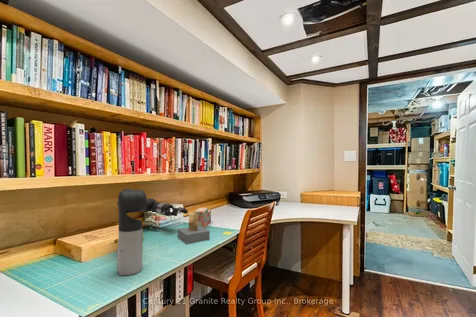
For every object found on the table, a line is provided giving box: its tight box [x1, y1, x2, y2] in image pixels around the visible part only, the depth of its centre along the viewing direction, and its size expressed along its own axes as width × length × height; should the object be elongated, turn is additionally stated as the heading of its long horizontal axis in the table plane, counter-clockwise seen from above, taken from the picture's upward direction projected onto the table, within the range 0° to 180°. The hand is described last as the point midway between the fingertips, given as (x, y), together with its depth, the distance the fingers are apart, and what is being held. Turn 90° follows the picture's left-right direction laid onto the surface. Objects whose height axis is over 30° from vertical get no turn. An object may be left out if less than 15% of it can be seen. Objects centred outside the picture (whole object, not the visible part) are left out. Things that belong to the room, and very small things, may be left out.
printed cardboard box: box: [194, 207, 212, 229], centre depth 172 cm, size 21×6×12 cm, turn 173°
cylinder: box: [188, 211, 198, 231], centre depth 144 cm, size 5×5×10 cm
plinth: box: [176, 226, 211, 245], centre depth 144 cm, size 14×14×5 cm
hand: (182, 213), depth 151 cm, fingers open, 8 cm apart
